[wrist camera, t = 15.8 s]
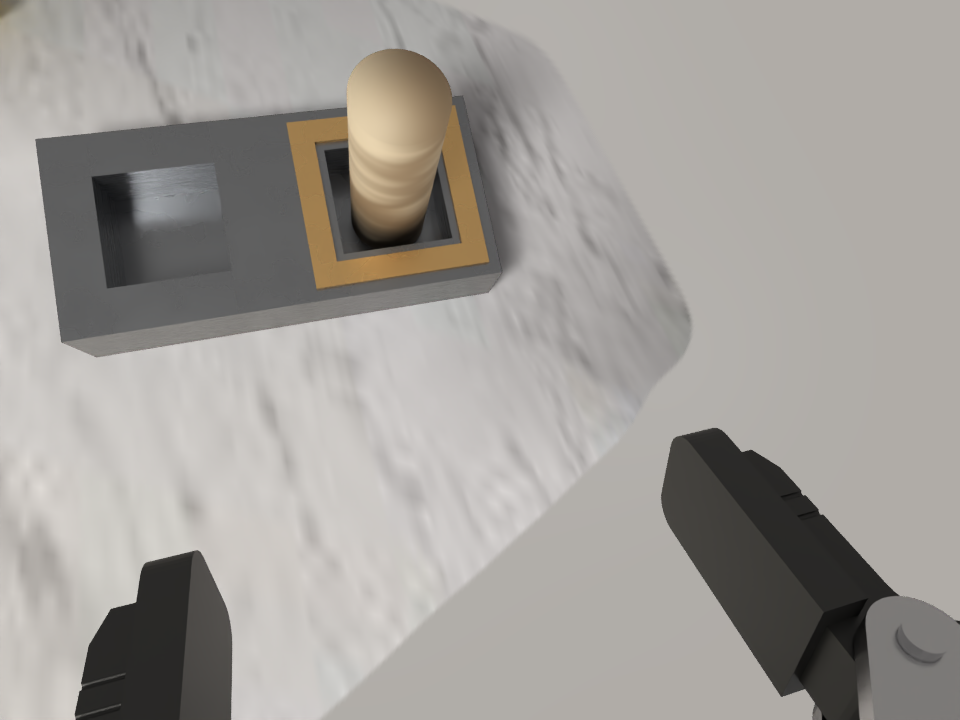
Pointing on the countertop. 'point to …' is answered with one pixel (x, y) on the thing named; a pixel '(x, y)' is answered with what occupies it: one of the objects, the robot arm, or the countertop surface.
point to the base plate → (242, 231)
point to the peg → (394, 143)
